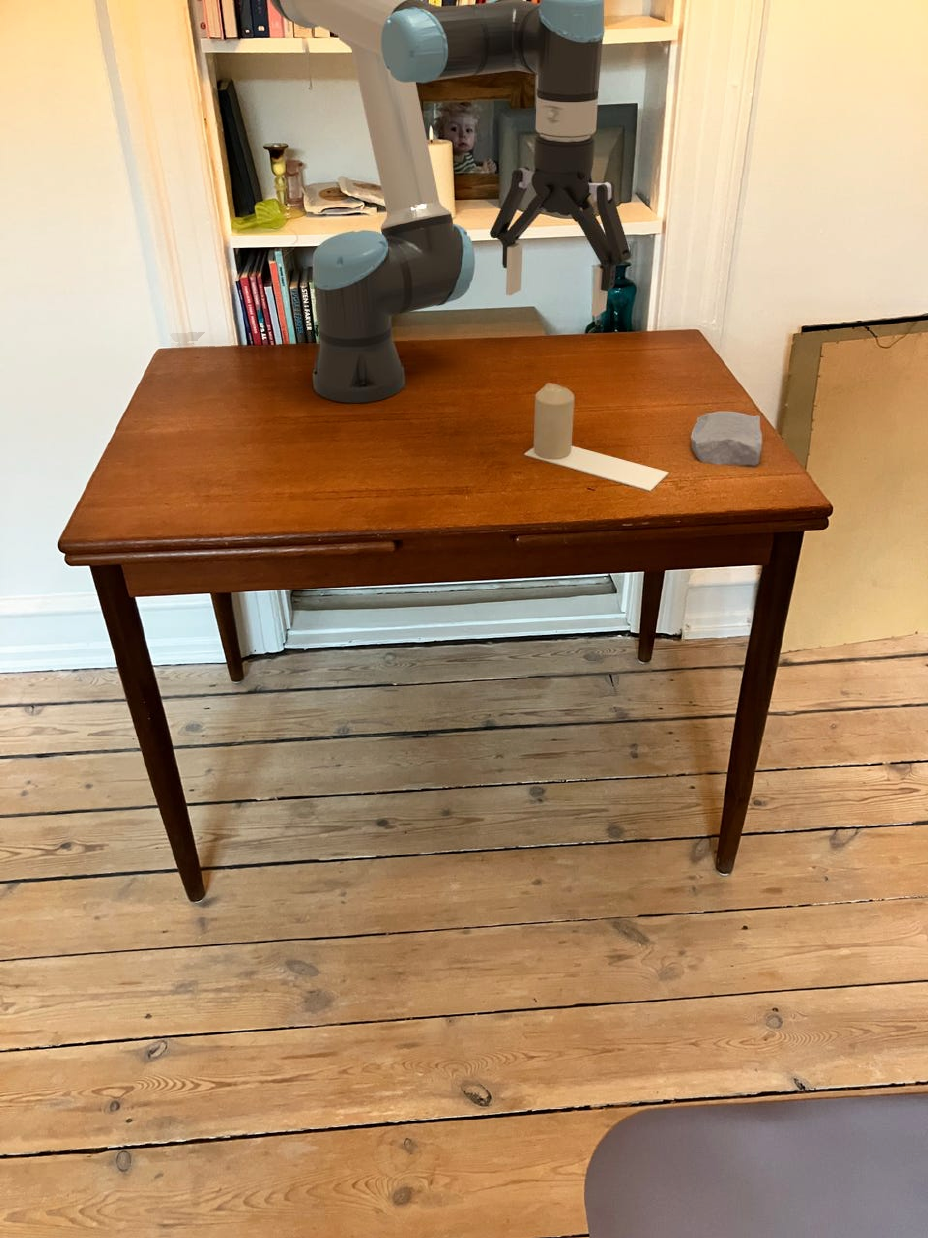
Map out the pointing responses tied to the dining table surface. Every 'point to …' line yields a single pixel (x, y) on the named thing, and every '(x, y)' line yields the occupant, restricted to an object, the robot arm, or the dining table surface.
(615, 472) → the test strip
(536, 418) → the candle
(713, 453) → the stone block
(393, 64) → the robot arm
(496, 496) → the dining table surface
